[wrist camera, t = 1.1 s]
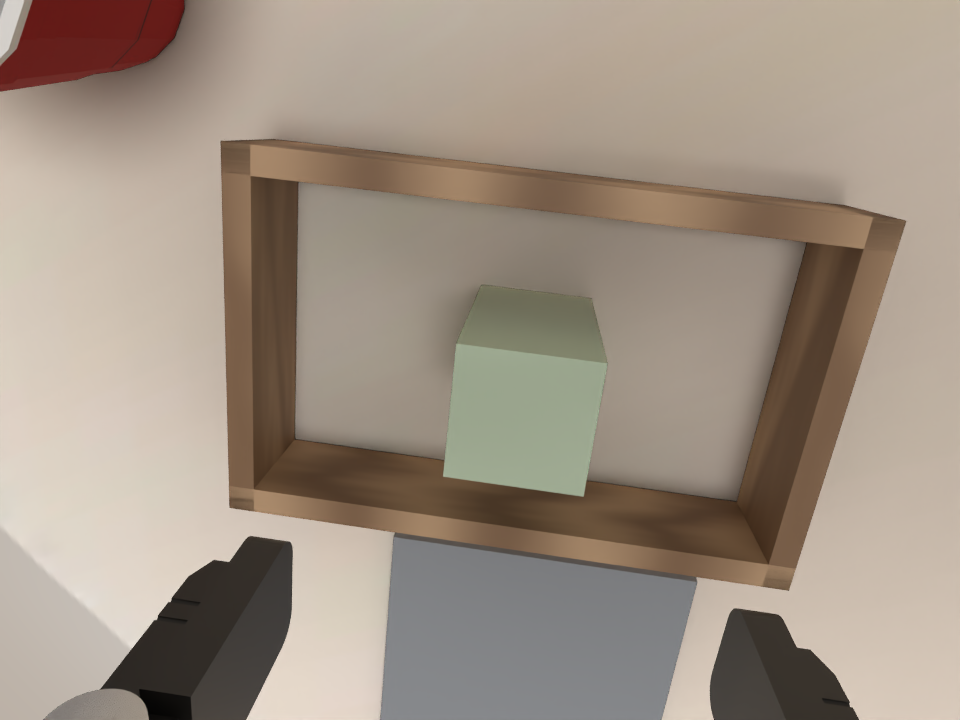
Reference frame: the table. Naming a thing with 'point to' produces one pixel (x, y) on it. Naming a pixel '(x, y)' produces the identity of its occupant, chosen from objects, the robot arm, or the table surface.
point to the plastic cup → (80, 37)
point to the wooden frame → (605, 507)
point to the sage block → (526, 391)
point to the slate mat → (527, 635)
